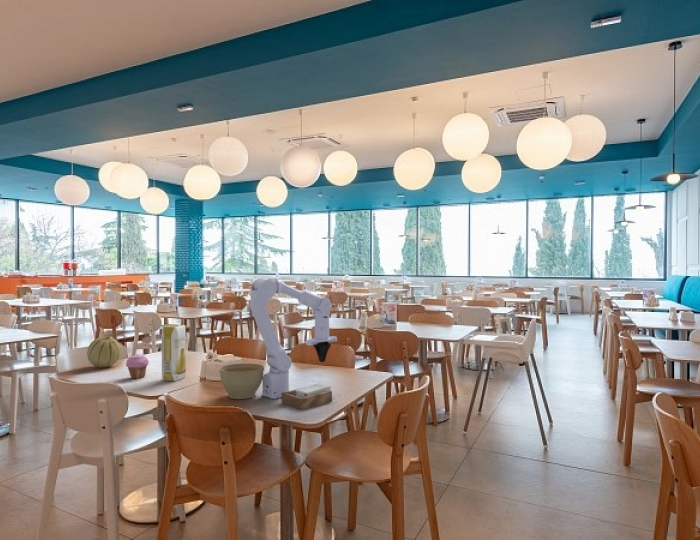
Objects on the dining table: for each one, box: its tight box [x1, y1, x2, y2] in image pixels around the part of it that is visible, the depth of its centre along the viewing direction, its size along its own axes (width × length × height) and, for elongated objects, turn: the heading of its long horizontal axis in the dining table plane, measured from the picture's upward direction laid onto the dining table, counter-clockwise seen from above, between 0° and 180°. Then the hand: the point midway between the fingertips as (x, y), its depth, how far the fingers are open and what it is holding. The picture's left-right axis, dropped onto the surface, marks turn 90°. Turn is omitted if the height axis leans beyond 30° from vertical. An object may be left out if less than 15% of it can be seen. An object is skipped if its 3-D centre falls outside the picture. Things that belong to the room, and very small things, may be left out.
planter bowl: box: [219, 362, 265, 400], centre depth 175 cm, size 16×16×11 cm
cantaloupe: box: [86, 335, 122, 368], centre depth 226 cm, size 15×15×15 cm
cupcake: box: [125, 354, 150, 379], centre depth 205 cm, size 9×9×10 cm
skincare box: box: [295, 382, 332, 398], centre depth 169 cm, size 6×4×12 cm
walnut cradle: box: [281, 386, 333, 410], centre depth 167 cm, size 14×11×4 cm
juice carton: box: [161, 322, 187, 382], centre depth 202 cm, size 9×8×24 cm
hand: (322, 361), depth 187 cm, fingers closed
